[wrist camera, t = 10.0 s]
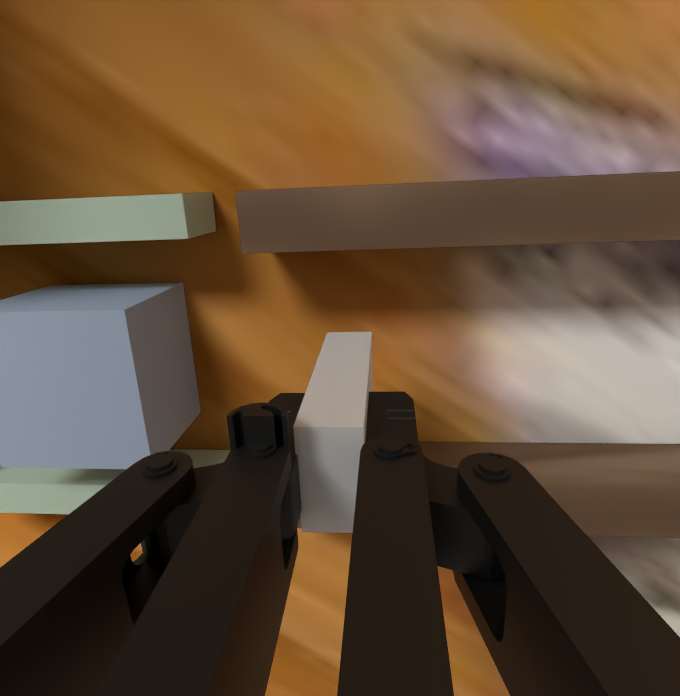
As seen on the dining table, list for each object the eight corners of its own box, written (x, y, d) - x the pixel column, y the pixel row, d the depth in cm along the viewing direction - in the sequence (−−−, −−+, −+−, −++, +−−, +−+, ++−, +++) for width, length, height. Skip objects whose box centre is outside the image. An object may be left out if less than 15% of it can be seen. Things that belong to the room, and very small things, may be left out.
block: (51, 284, 22) (-44, 312, 17) (183, 281, 21) (124, 309, 16) (79, 410, 23) (1, 467, 19) (201, 410, 23) (152, 469, 18)
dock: (-77, 205, 21) (-150, 208, 18) (211, 192, 19) (181, 193, 17) (2, 474, 25) (-48, 511, 22) (245, 478, 24) (225, 518, 21)
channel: (261, 190, 19) (235, 190, 16) (759, 167, 17) (846, 163, 14) (286, 478, 23) (269, 527, 20) (693, 485, 21) (748, 539, 18)
